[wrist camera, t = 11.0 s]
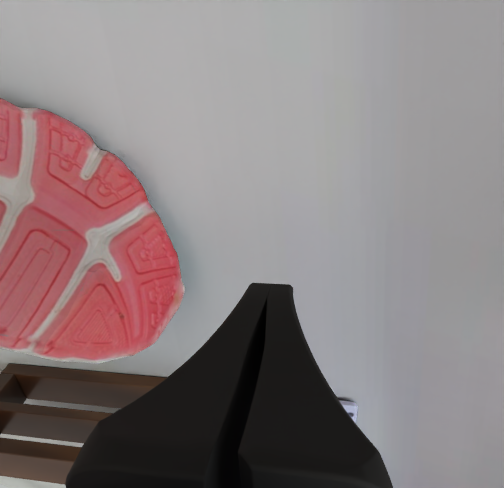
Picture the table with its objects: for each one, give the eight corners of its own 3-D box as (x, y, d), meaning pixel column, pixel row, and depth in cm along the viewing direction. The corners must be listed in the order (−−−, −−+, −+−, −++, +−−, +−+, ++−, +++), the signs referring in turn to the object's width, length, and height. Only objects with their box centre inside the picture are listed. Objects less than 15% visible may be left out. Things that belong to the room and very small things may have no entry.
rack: (193, 404, 31) (163, 498, 25) (21, 387, 34) (-43, 470, 28) (188, 379, 30) (156, 472, 24) (8, 362, 32) (-62, 445, 26)
